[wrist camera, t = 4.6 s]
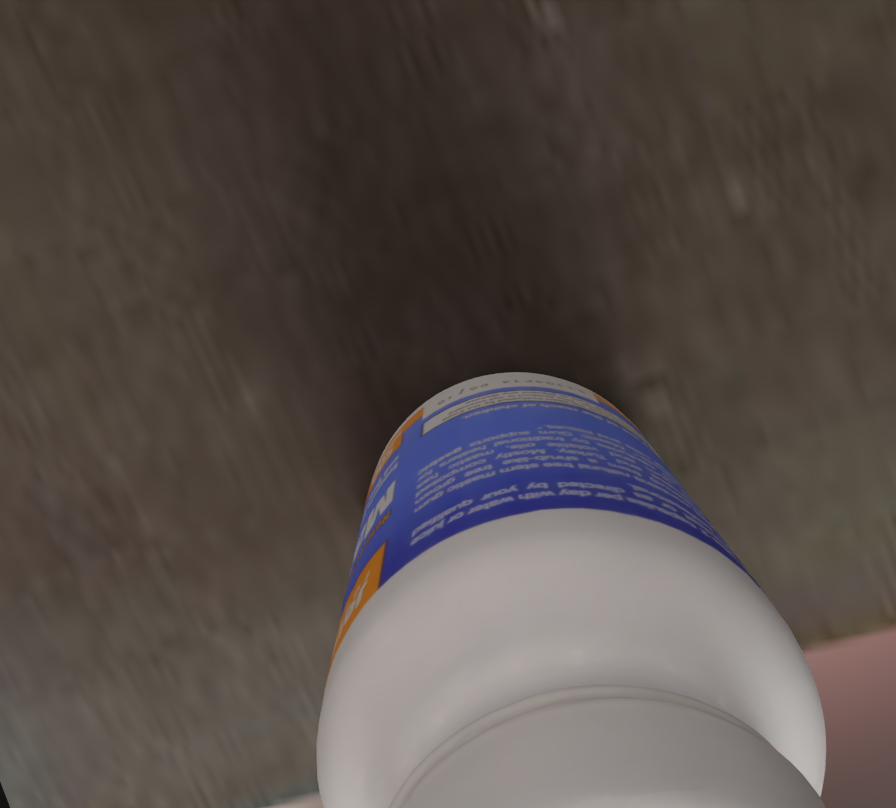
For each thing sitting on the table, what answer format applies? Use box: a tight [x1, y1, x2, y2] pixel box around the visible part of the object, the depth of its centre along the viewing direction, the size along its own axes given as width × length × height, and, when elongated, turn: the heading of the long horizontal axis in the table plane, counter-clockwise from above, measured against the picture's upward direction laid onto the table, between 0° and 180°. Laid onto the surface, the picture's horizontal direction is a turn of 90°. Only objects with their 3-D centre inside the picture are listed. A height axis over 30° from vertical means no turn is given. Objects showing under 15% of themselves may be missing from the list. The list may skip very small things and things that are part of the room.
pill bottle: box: [316, 372, 826, 808], centre depth 11 cm, size 5×5×10 cm
